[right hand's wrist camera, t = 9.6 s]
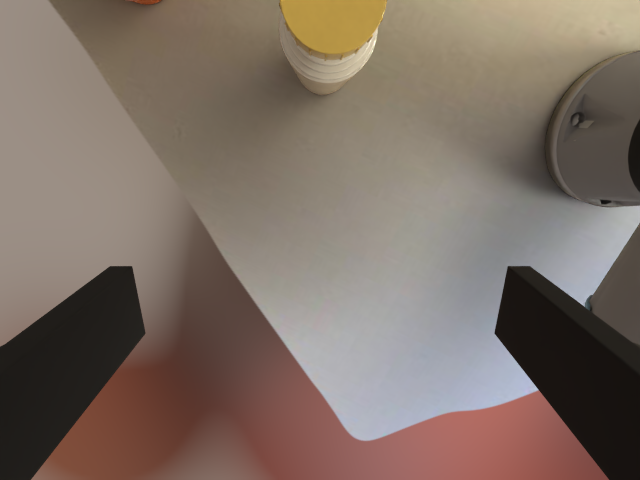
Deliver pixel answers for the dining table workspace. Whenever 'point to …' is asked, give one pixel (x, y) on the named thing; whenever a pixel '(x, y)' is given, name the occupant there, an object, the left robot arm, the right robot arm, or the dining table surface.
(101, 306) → the right robot arm
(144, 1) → the cup with straw
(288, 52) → the bottle
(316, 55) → the cap
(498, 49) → the dining table surface
